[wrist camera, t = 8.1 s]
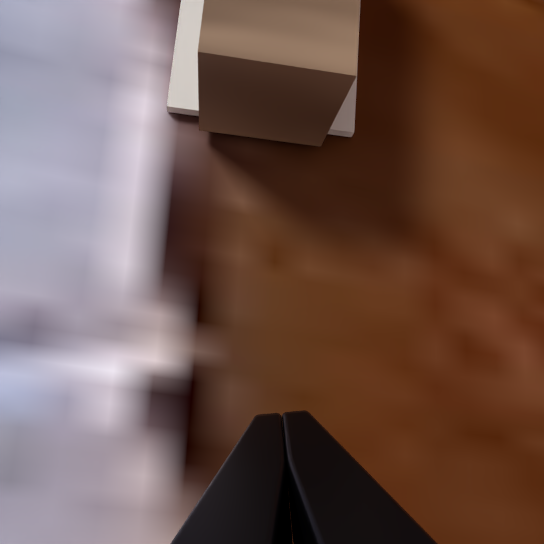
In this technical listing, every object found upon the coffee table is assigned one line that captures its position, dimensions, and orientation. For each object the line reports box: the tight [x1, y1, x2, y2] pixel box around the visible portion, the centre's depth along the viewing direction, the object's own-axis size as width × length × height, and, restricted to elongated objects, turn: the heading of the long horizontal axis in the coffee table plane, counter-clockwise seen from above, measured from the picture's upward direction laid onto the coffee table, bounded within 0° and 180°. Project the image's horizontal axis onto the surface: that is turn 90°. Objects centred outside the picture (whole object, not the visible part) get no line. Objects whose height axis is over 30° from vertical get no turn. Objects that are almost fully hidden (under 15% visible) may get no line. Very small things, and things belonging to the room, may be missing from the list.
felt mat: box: [167, 0, 361, 137], centre depth 19 cm, size 7×7×1 cm
